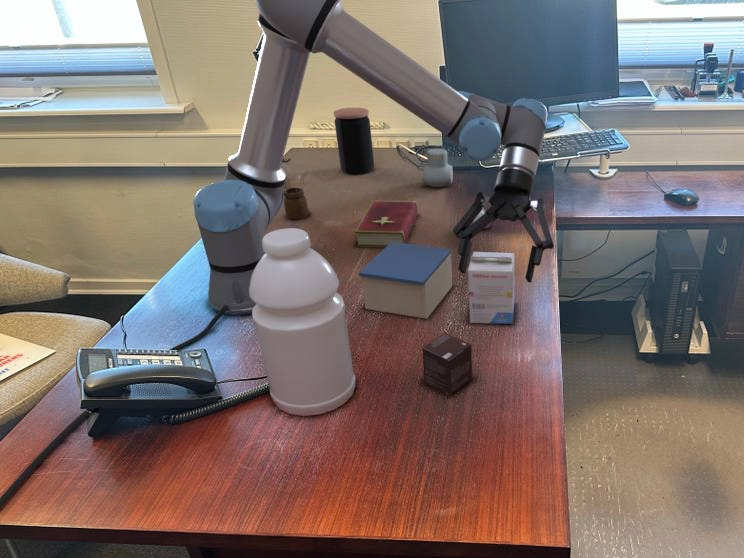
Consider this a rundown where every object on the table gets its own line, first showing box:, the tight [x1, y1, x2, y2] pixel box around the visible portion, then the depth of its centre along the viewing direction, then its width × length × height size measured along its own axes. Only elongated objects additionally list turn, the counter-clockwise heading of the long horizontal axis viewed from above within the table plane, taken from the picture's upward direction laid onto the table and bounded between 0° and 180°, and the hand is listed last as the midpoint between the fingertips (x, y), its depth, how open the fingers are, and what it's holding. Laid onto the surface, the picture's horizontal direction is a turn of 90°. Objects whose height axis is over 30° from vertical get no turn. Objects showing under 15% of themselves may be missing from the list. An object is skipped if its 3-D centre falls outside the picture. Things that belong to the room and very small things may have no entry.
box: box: [421, 332, 473, 396], centre depth 108 cm, size 6×6×7 cm
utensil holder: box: [283, 174, 309, 220], centre depth 171 cm, size 6×6×12 cm
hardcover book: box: [354, 200, 419, 248], centre depth 164 cm, size 12×21×4 cm, turn 176°
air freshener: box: [422, 148, 454, 188], centre depth 191 cm, size 11×8×10 cm
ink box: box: [467, 251, 516, 325], centre depth 126 cm, size 9×8×13 cm
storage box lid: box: [358, 242, 452, 286], centre depth 131 cm, size 15×14×1 cm
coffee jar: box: [333, 107, 375, 176], centre depth 201 cm, size 11×11×18 cm
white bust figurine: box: [472, 207, 492, 230], centre depth 167 cm, size 4×8×5 cm
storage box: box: [360, 253, 453, 320], centre depth 133 cm, size 15×14×8 cm
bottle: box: [249, 227, 356, 417], centre depth 101 cm, size 14×14×28 cm
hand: (494, 275), depth 126 cm, fingers open, 13 cm apart
